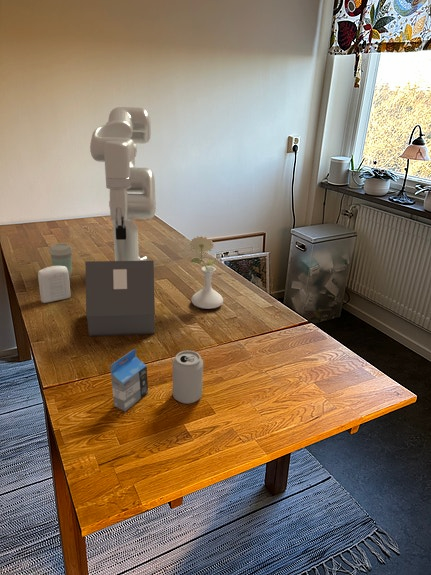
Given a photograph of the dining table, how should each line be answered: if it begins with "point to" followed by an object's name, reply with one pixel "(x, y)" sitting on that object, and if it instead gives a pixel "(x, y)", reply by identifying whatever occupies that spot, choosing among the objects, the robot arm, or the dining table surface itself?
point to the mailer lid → (119, 288)
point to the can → (187, 377)
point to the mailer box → (120, 325)
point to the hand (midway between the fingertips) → (121, 238)
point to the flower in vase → (207, 295)
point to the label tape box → (128, 381)
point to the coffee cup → (61, 255)
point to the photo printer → (54, 283)
